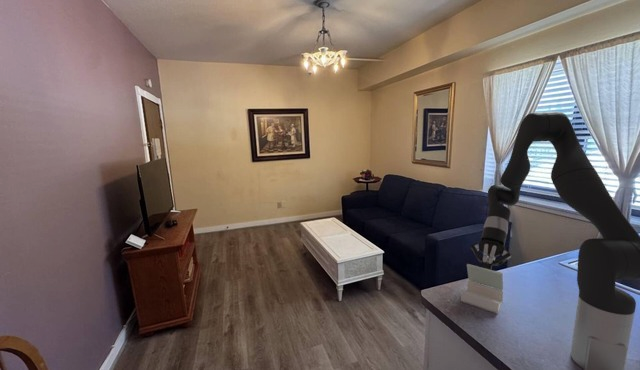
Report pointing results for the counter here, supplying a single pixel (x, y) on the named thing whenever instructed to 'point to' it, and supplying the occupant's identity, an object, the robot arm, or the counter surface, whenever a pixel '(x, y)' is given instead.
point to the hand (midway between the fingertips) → (485, 274)
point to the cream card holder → (482, 297)
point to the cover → (485, 276)
